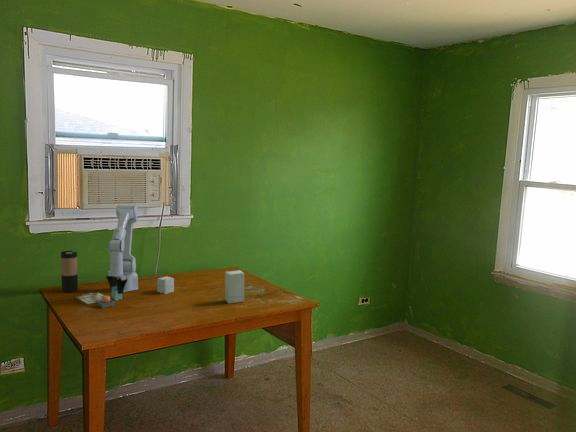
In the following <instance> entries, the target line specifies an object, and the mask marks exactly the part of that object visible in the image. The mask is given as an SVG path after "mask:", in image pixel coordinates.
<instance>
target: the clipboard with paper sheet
mask: <svg viewBox="0 0 576 432" xmlns="http://www.w3.org/2000/svg"><path fill="white" fill-rule="evenodd" d="M102 296H106V295H105V294H104V293H101V292H94V293H93V292H89V293H84V294H81V295H79V296H74V299H75V300H77V301H79V302H81V303H82V304H84V305H86V306H89V304H90V305H95V304H97V301H101V300H102ZM110 299H111V300H113V299H112V297H110ZM113 301H114V300H113ZM94 303H95V304H94Z"/></svg>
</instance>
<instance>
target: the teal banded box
mask: <svg viewBox="0 0 576 432" xmlns="http://www.w3.org/2000/svg"><path fill="white" fill-rule="evenodd" d="M111 299H114V300H113V301H115V300H116V301H120V300H119V299H121V300H123V293H122V294H118V290H117V285H116V286H114V287H112V291H111Z"/></svg>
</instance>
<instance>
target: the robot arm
mask: <svg viewBox="0 0 576 432" xmlns="http://www.w3.org/2000/svg"><path fill="white" fill-rule="evenodd" d="M138 213H139V208H138V206H137V205H135V204H134V205H132V204H131V205H130V204H129V205H123V204H118V205H117V206H116V208H115V214H116V217H117V219H118V220H117V227H115V228H114V230H113V233H112V237H111V239H110V240H109V241H108V245H107V250H108V255H109V263H110V265H109V266H110V267H109V270H108V271H107V275H106V277H105V278H106V280H107V282H108V285H109V288H110V291H111V292H112V287H114V286H117V290H118V294H122V295H123V293H126V292H132V291H137V290H140V289H139V277H138V273H137V272H136V268H137V263H136V262H137V260H136V257H135V256H133V255H132V253H131V252H132V242H133V229H134V224H135V223H136V222H137V221H138V215H139V214H138Z"/></svg>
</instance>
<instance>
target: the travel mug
mask: <svg viewBox="0 0 576 432" xmlns="http://www.w3.org/2000/svg"><path fill="white" fill-rule="evenodd" d="M78 268H79V267H78V251H73V250H65V251H61V252H60V273H61V274H60V275H61V290H62V293H66V294H67V293H75V292H77V291H78V287H79V286H78V285H79V284H78V283H79V282H78V277H79V276H78V275H79V273H78Z"/></svg>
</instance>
